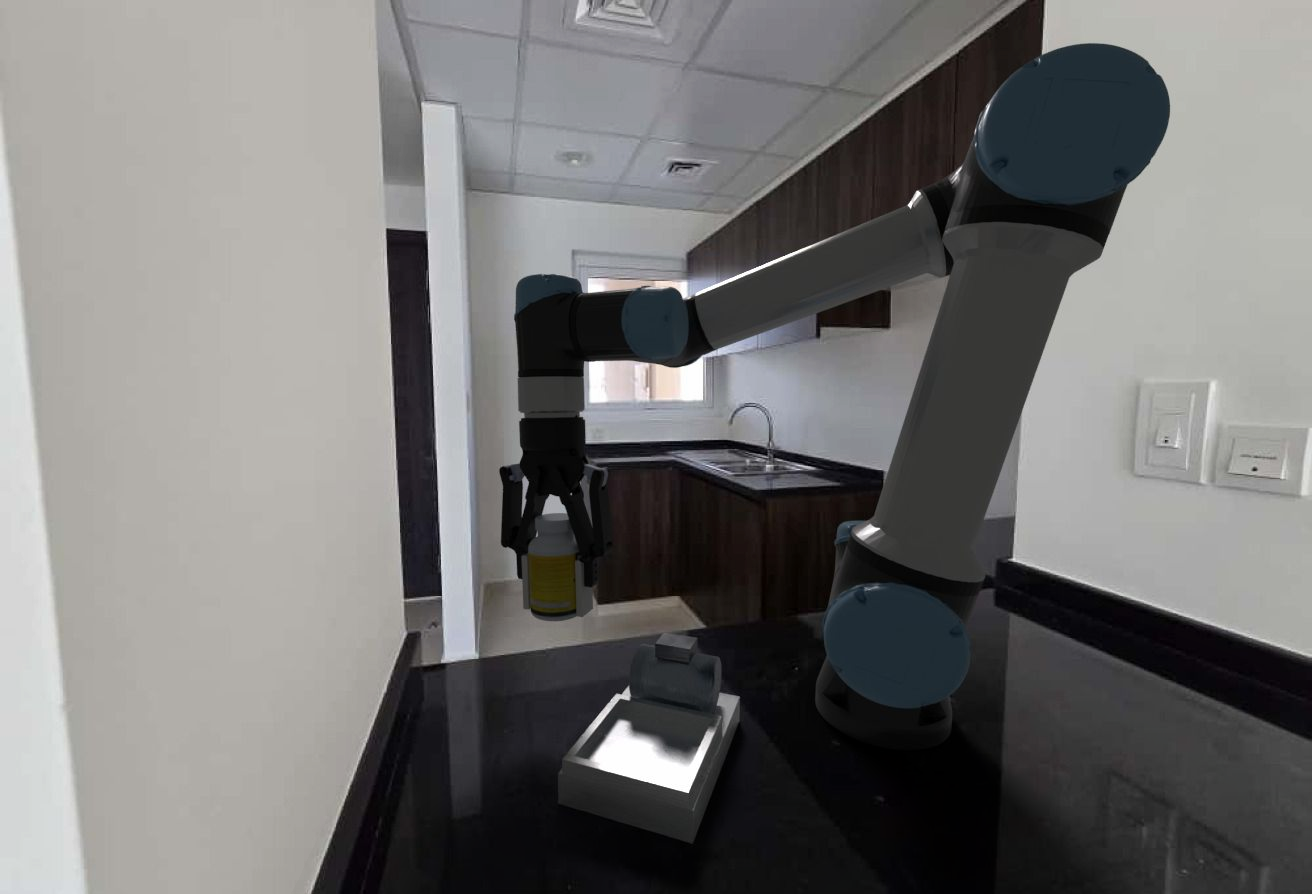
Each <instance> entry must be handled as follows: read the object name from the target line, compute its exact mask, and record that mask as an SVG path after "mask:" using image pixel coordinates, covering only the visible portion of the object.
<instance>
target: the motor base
mask: <svg viewBox="0 0 1312 894" xmlns="http://www.w3.org/2000/svg"><path fill="white" fill-rule="evenodd" d="M654 644H655V645H653V644H646V643H641V644H640V645H639V646H638V647H637V648H636V650H635V652H634V654H633V658H632V661H631V665H630V669H629V679H628V686H627V687H626V688H625V689H624V691H623V692H622V694H620V693H616V694H615V695H614V696H613V697H612V698H611V700H610V701H609V702H608V703H607V704H606V705H605V707H604V708H603V709H602V711H600V713H599V714H598V715H597V717H596V718H595V719H594V720H593V721H592V723H591V724H589V726H587V728H586V729H585V731H584V732H583V733H582V734H581V736H580V737H579V738H578V740H577V741H575V743H574V744H573V745H572V747H571V748H570V749H569V750H568V751H567V753H566V754H565V755H564V756H563V758H562V759H561V769H560V770H559V771H558V773H557V787H558V788H557V789H558V790H557V793H558V794H557V795H558V796H557V797H558V799H557V802H558V805H562V806H564V807H565V806H566V807H568V808H572V809H574V810H575V809H576V810H578V811H583V812H585V813H589V814H591V815H595V816H598V817H601V818H605V819H609V820H613V821H615V822H618V823H623V824H626V825H629V826H632V827H635V828H638V829H642V830H646V831H648V832H652V833H655V834H657V835H658V834H659V835H663V836H666V837H667V838H673V839H676V840H679V841H681V842H686V843H689V844H694V842H695V839H696V836H697V833H698V831H699V828H700V825H701V824H702V821H703V818H704V815H705V812H706V810H707V808H708V805H709V802H710V798H711V797H712V794H713V791H714V789H715V786H716V785H717V784H716V783H717V781H718V778H719V775H720V773H721V771H722V768H723V765H724V762H725V760H726V758H727V757H726V756H727V754H728V753H729V749H730V747H731V744H732V741H733V739H734V737H735V733H736V731H737V729H738V725H739V723H740V713H741V712H740V707H741V705H740V704H741V703H740V702H741V697H740V696H738V695H734V694H728V693H723V692H720V691H721V686H722V662H721V659H720V657H719V656H717V655H716V656H714V655H710V654H704V653H700V652H699V653H698V637H693V636H687V635H681V634H676V633H669V632H663V633H662V634H661V636H660V637H659V638H658V639H657V641H656V642H655V643H654Z"/></svg>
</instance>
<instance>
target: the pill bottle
mask: <svg viewBox="0 0 1312 894" xmlns="http://www.w3.org/2000/svg"><path fill="white" fill-rule="evenodd" d="M535 530H536V531H537V535H536V537H535V538H534V539H533V540H532V541H531V542H530V544H529V547H528V555H529V580H530V609H529V610H530V613H531V614H532V616H533V617H534V618H535V619H537V620H541V621H545V622H562V621H564V622H565V621H568V620H572V619H575V618H577V617H578V616H577V614H576V578H575V561H576V560H578V559H579V558H581V555H580V552H579V548H578V545H577V542H576V539H575V536H574V533H573V530H572V527H571V524H570V521H569V518H568V515H567V512H553V513H545V514H544V513H543V514H542V515H540V516H537V517H536V518H535Z"/></svg>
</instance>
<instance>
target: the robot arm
mask: <svg viewBox="0 0 1312 894" xmlns="http://www.w3.org/2000/svg"><path fill="white" fill-rule="evenodd" d="M1170 116H1171V100H1170V95H1169V91H1168V88H1167V86H1166V83H1165V81H1164V78H1163V77H1162V76H1161V75H1160V74H1158V73H1157V72H1156V70H1155V69H1154V68H1153V66H1151V64H1150V63H1149V61H1148V60H1147V59H1146V58H1145V57H1144V56H1141V55H1140V54H1139V53H1137V52H1135V51H1132V50H1131V49H1127V48H1125V47H1122V46H1118V45H1113V44H1108V43H1095V42H1091V43H1089V42H1088V43H1077V44H1071V45H1067V46H1062V47H1059V48H1056V49H1053V50H1050V51H1048V52H1045V53H1043V54H1041V55H1039V56H1037V57H1035V58H1033V59H1032V60H1030V61H1028V62H1027V63H1025V64H1024V65H1023V66H1020V68H1018V69H1016V71H1014V72H1013V73H1012V74H1011V75H1010V76H1009V77H1008V78H1007V79H1006V80H1005V81H1004V82H1003V83H1002V84H1001V85H1000V86H999V87H998V89H997V90H996V92H995V93H994V95H993V96H992V97H991V99H990V100H988V101H987V104H986V106H985V107H984V108H983V110H982V111H981V112H980V114H979V116H978V120H977V123H976V125H975V130H974V134H973V135H974V136H973V138H972V140H971V143H970V146H969V149H968V151H967V154H966V155H965V158H964V161H963V163H962V164H961V166H959V167H958V168H957V169H955V170H954V171H952V172H951V173H950V174H948V175H947V176H945V177H944V178H942V179H940V180H938V181H936V182H934V183H932V184H929V185H927V186H925V187H922V188H920V189H918V190H916V191H915V192H914V194H913V197H911V200H910V201H909V203H908V204H907V205H905V206H903V207H900V208H897V209H895V210H893V211H889V212H888V213H885V214H883V215H881V216H878V217H876V218H873V219H870V220H868V221H866V222H864V223H862V224H859V225H857V226H854V227H852V228H849V229H847V230H844V231H842V232H840V233H837V234H835V235H833V236H830V237H827V238H825V239H822V240H820V241H818V242H816V243H812V244H811V245H808V246H806V247H803V248H801V249H798V250H797V251H794V252H792V253H789V254H786V255H785V256H781V257H779V258H777V259H774V260H772V261H770V262H767V263H765V264H763V265H761V266H757V267H756V268H752V269H751V270H748V271H745V272H743V273H741V274H738V275H736V276H734V277H731V278H729V279H726V280H724V281H722V282H719V283H716V284H714V285H712V286H709V287H707V288H705V289H702V290H700V291H697V292H696V293H694V294H691V295H688V296H686V297H683V295H682V293H681V292H680V291H679V290H678V289H677V288H676V287H673V286H669V285H668V286H651V285H641V287H636V288H635V287H633V288H626V289H625V288H622V289H614V290H603V291H594V292H583V287H582V283H581V282H580V281H579V279H578V278H576V277H574V276H570V275H567V274H565V275H564V274H559V273H558V274H557V273H551V274H550V273H549V274H545V273H538V274H537V273H536V274H530V275H527V276H524V277H522V278H521V279H520V280H519V281H518V282H517V284H516V287H515V308H514V309H515V311H514V312H515V313H514V315H513V320H514V324H515V338H516V349H517V350H516V351H517V404H518V405H517V407H518V412H520V414H523V415H524V416H523V417H521V418H520V420H519V421H518V425H519V426H518V427H519V430H518V431H519V446H520V448H521V450H522V455H521V458H520V461H519V463H513V464H508V465H503V466H500V467H499V470H498V472H499V477H500V480H501V484H502V500H501V501H502V503H501V523H500V524H501V528H500V529H501V530H500V532H501V533H500V545H501V546H502V548H506V549H507V548H509V549H511V550H512V551H513V552H514V553H515V556H516V557H515V558H516V576H517V579H518V580H522V602H523V603H522V607H523V610H527V611H528V610H530V580H529V555H528V547H529V544H530V542H531V541H532V540H533V539H534V538H535V537H537V536H538V531H536V530H535V518H536V517H537V516H540V515H543V514H544V508H545V505H546V501H547V500H548V499H549V497H550V495H551V496H554V497H559V498H558V499H559V501H560V503H561V505H563V506H564V509H565V513H567V515H568V518H569V521H570V524H571V527H572V530H573V533H574V536H575V539H576V542H577V545H578V548H579V552H580V555H581V558H579V559H578V560H576V561H575V578H576V614H577V617H579V618H583V617H584V616H586V615H587V614H588V613H590V612H591V611H592V610H593V609H594V599H593V598H594V596H593V593H594V592H593V587H595V586H596V585H598V583H599V575H600V574H599V573H600V572H599V557H601V558H602V557H604V556H605V555H607V554H609V553H610V552H612V551H613V550H614V547H615V546H614V536H613V535H614V534H613V526H612V517H611V516H612V514H611V507H610V497H609V489H608V488H609V483H610V479H611V475H612V471H611V469H610V467H607V466H604V467H598V466H595V465H592V464H589V460H588V458H587V455H586V452H585V451H586V450H585V449H586V445H587V444H586V443H587V442H586V441H587V440H586V439H587V437H586V419H585V418H584V417H583V416H581V415H580V413H582V412H584V411H585V408H586V405H585V373H584V372H585V362H586V363H591V362H592V363H594V362H623V361H627V362H630V361H631V362H637V363H638V362H639V363H644V364H646V363H647V364H654V365H658V366H659V365H660V366H664V367H666V368H671V369H677V368H681V367H687V366H689V365H692V364H694V363H696V362H697V361H699V359H700V358H702V357H703V356H705V355H708V354H709V353H712V352H715V351H718V350H719V349H722V348H724V347H728V346H730V345H734V344H735V343H738V342H741V341H743V340H746V339H749V338H752V337H755V336H758V335H760V334H763V333H767V332H768V331H771V330H774V329H777V328H780V327H783V326H785V325H788V324H791V323H793V322H796V321H799V320H802V319H805V318H808V317H810V316H813V315H815V314H818V313H821V312H824V311H827V310H830V309H832V308H835V307H837V306H840V305H843V304H845V303H849V302H851V301H854V300H857V299H859V298H863V297H865V296H868V295H871V294H873V293H876V292H879V291H881V290H885V289H886V288H890V287H893V286H895V285H898V284H901V283H904V282H907V281H909V280H912V279H914V278H918V277H921V276H923V275H926V274H930V275H931V276H934V277H937V278H939V279H941V278H945V277H947V276H949V278H948V281H947V283H946V287H945V291H944V292H943V293H944V294H943V297H942V300H941V303H940V306H939V310H938V313H937V316H936V319H935V322H934V325H933V329H932V331H931V335H930V337H929V341H928V344H927V348H926V350H925V354H924V357H923V360H922V363H921V366H920V370H919V372H918V376H917V379H916V382H915V385H914V389H913V391H912V395H911V398H910V401H909V404H908V408H907V411H906V414H905V417H904V420H903V423H902V426H901V429H900V432H899V436H898V439H897V442H896V445H895V448H894V452H893V456H892V457H891V460H890V464H889V467H888V471H887V473H886V477H885V479H884V483H883V486H882V489H881V492H880V496H879V499H878V501H877V505H876V508H875V512H874V514H873V516H872V517H871V518H870V519H868V520H848V521H843V522H842V523H840V524H839V525H838V527H837V531H836V539H835V540H834V546H835V565H834V575H833V580H832V586H831V591H830V594H829V600H828V605H827V608H826V609H825V613H824V615H823V620H822V626H821V629H822V638H823V641H824V642H823V643H824V648H825V649H824V650H825V652H826V657H825V658H824V661H823V664H822V667H821V669H820V671H819V673H818V676H817V679H816V683H815V699H814V700H815V702H814V703H815V706H816V709H817V711H818V712H819V715H821V717H822V718H823V719H824V721H826V722H827V723H829V724H830V725H831V726H832V727H833V728H835V729H836V730H838V731H839V732H841V733H843V734H845V735H847V736H849V738H853V739H855V740H858V741H860V742H863V743H865V744H868V745H873V746H876V747H880V748H884V749H885V748H886V749H891V750H899V751H919V750H925V749H931V748H934V747H937V746H939V745H941V744H943V743H944V742H946V741H947V740H948V739H949V737H950V735H951V732H952V727H953V726H952V723H953V709H952V708H953V707H952V703H951V700H950V696H951V695H952V694H954V692H956V691H957V690H958V689H959V687H960V686H961V685H962V683H963V682H964V680H965V678H966V676H967V675H968V674H967V673H968V671H969V667H970V662H971V651H972V647H971V646H972V645H971V638H970V635H969V632H968V630H967V629H968V626H969V622H970V620H971V618H972V615H973V612H974V609H975V607H976V603H977V601H978V598H979V595H980V592H981V589H982V586H983V584H984V582H985V579H986V571H985V570H984V567H983V566H982V564H981V563H980V561H979V559H978V557H977V555H976V554H975V550H974V549H975V548H974V547H975V545H976V542H977V539H978V537H979V534H980V531H981V528H982V525H983V522H984V520H985V518H986V514H987V511H988V509H989V507H990V506H989V505H990V503H991V500H992V498H993V494H994V493H995V489H996V486H997V483H998V481H999V477H1000V475H1001V473H1002V469H1003V466H1004V463H1005V461H1006V457H1007V454H1008V452H1009V449H1010V446H1011V443H1012V440H1013V437H1014V436H1015V433H1016V429H1017V427H1018V424H1019V421H1020V418H1021V415H1022V413H1023V411H1024V406H1025V404H1026V402H1027V399H1028V395H1029V393H1030V390H1031V387H1032V384H1033V381H1034V378H1035V376H1036V372H1037V370H1038V368H1039V365H1040V362H1041V359H1042V356H1043V353H1044V350H1045V348H1046V345H1047V342H1048V339H1049V337H1050V334H1051V330H1052V328H1053V325H1054V323H1055V320H1056V317H1057V314H1058V311H1059V308H1060V305H1061V302H1062V300H1063V297H1064V293H1065V291H1066V288H1067V286H1068V283H1069V279H1070V278H1071V277H1072V276H1073V274H1075V273H1077V272H1078V271H1080V270H1082V269H1083V268H1085V267H1087V266H1089V265H1090V264H1092V263H1094V262H1095V261H1097V260H1099V259H1100V258H1101V257H1102V255H1103V252H1104V249H1105V246H1106V243H1107V241H1108V238H1109V235H1110V233H1111V231H1112V227H1113V225H1114V222H1115V220H1116V216H1117V213H1118V211H1119V208H1120V206H1121V203H1122V200H1123V197H1124V194H1125V192H1126V190H1127V187H1128V186H1129V184H1130V183H1131V182H1133V181H1134V180H1136V179H1137V178H1138V177H1139V176H1140V175H1141V174H1142V173H1143V171H1144V170H1145V169H1146V168H1147V167H1148V166H1149V165H1150V164H1151V160H1152V159H1153V158H1154V156H1156V153H1157V151H1158V149H1159V148H1160V146H1161V144H1162V143H1163V140H1164V138H1165V135H1166V133H1167V130H1168V127H1169V121H1170ZM585 476H586V483H587V484H588V485H589V487H588V495H589V504H590V505H589V507H590V515H591V516H590V515H589V512H588V510H587V507H586V504H585V501H584V498H585V494H584V491H583V487H582V484H581V482H582V480H583V479H584V477H585ZM524 478H525V479H526V480H527V481H528V485H527V489H526V493H525V496H524V498H525V504H524V507H523V494H524V492H523V491H524V483H523V479H524ZM523 508H524V509H523ZM590 517H591V519H590Z"/></svg>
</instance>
